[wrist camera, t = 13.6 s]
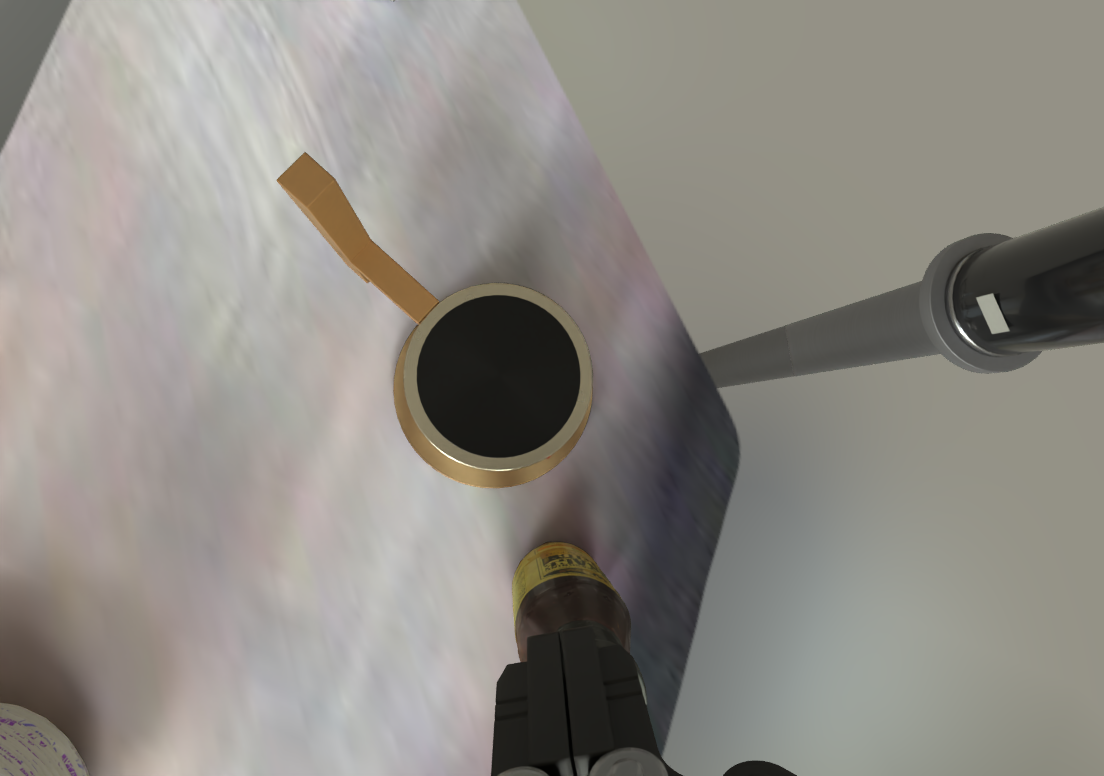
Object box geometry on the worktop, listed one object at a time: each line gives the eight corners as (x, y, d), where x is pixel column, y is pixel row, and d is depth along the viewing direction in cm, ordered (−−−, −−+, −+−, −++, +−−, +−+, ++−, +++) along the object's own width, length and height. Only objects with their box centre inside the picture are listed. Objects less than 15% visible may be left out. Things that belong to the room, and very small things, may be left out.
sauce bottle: (612, 564, 44) (718, 676, 25) (569, 642, 44) (642, 821, 24) (535, 519, 44) (579, 595, 24) (490, 597, 43) (497, 741, 24)
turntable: (574, 280, 45) (576, 278, 44) (604, 469, 45) (607, 470, 44) (381, 306, 44) (379, 304, 43) (410, 502, 43) (409, 504, 42)
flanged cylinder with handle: (595, 385, 44) (681, 355, 25) (502, 491, 43) (519, 542, 24) (423, 228, 43) (379, 78, 25) (323, 331, 42) (196, 256, 23)
